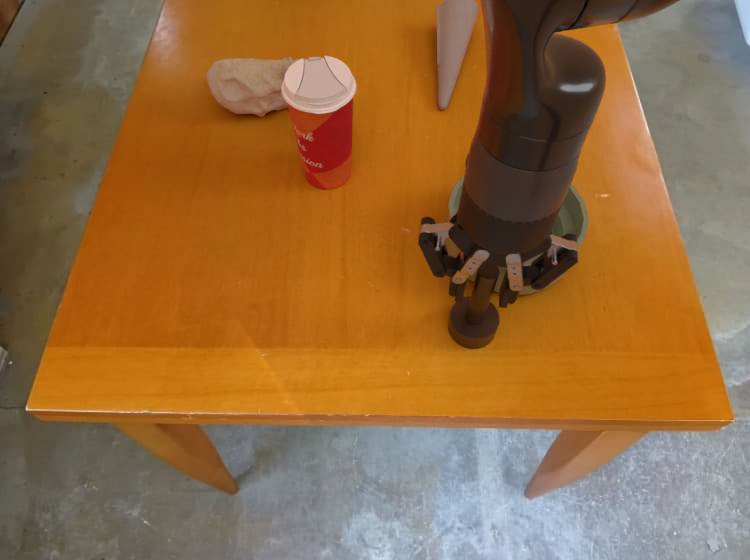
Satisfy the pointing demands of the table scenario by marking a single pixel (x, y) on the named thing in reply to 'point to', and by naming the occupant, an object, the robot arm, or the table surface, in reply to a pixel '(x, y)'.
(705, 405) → the table surface
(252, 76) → the pale crumpled lump
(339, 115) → the coffee cup
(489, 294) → the brown capped cylinder
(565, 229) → the bowl
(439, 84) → the long tapered cone
